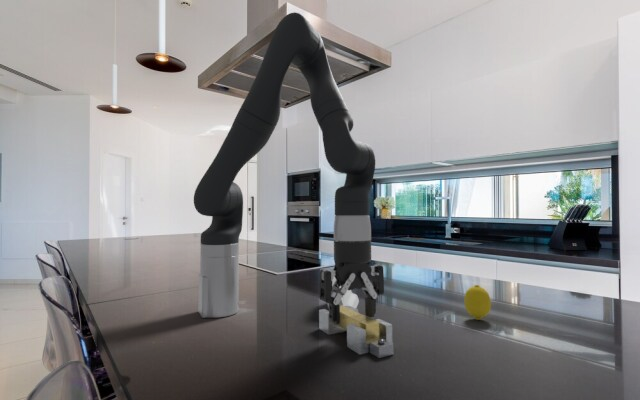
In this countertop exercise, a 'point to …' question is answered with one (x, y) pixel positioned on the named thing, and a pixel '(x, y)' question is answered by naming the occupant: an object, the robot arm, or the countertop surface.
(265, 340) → the countertop surface
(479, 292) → the lemon
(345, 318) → the link bar
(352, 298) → the white rounded housing
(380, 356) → the linkage with metal pins
